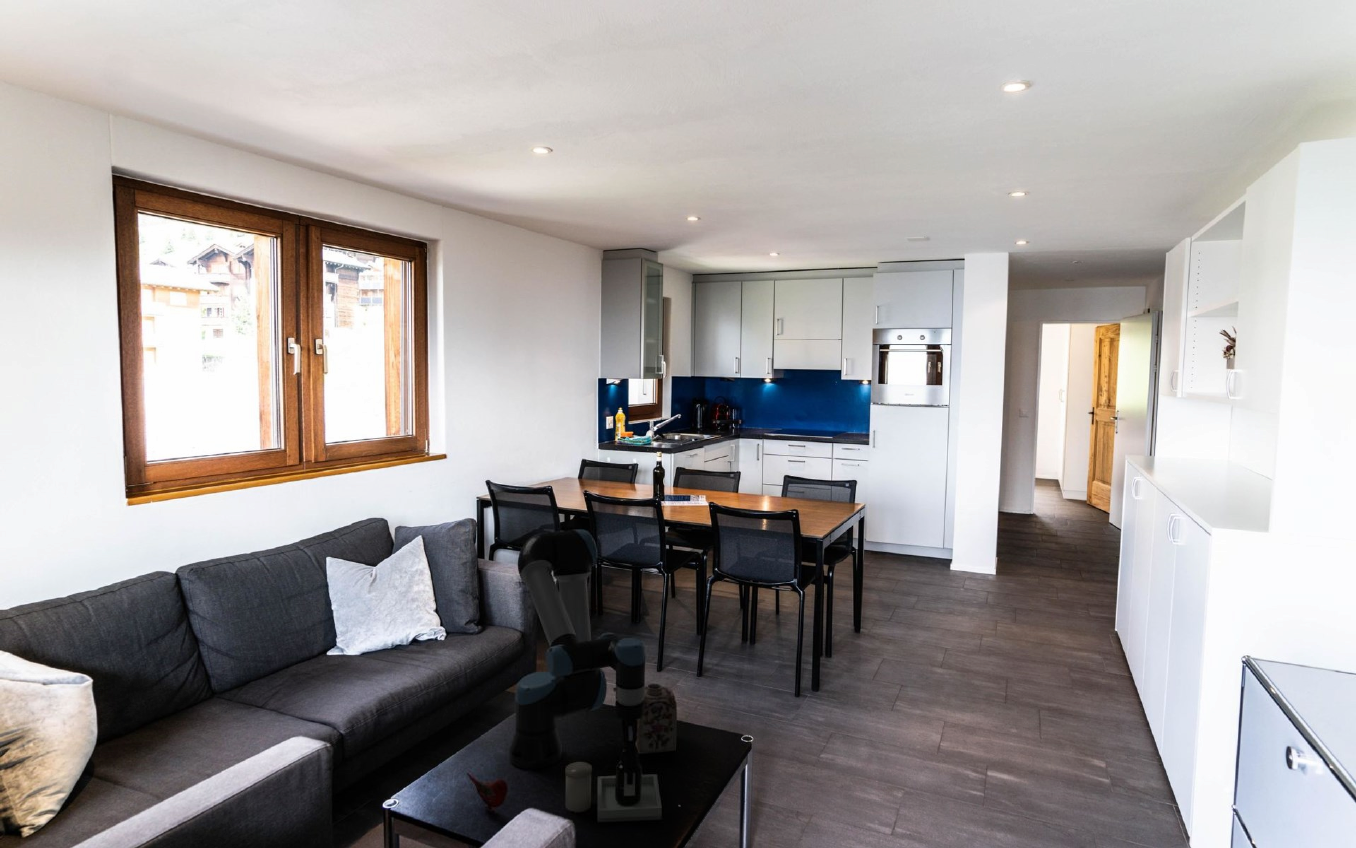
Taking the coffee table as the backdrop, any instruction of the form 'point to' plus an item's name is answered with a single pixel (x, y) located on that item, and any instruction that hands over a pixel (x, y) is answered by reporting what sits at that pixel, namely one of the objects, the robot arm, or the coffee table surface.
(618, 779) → the supplement bottle
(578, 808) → the cream canister
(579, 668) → the robot arm
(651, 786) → the sage tray
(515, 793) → the coffee table surface
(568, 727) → the coffee table surface
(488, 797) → the decorative bird figurine
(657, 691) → the decorative jar
